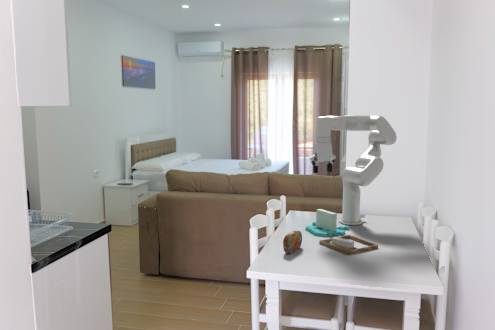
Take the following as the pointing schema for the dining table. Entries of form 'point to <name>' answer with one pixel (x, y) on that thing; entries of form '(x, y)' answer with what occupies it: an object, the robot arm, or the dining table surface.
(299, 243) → the tin
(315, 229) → the alien figure
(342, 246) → the pine offcut
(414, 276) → the dining table surface
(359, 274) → the dining table surface
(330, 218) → the sage panel
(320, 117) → the robot arm
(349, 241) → the grey offcut
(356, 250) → the rack
